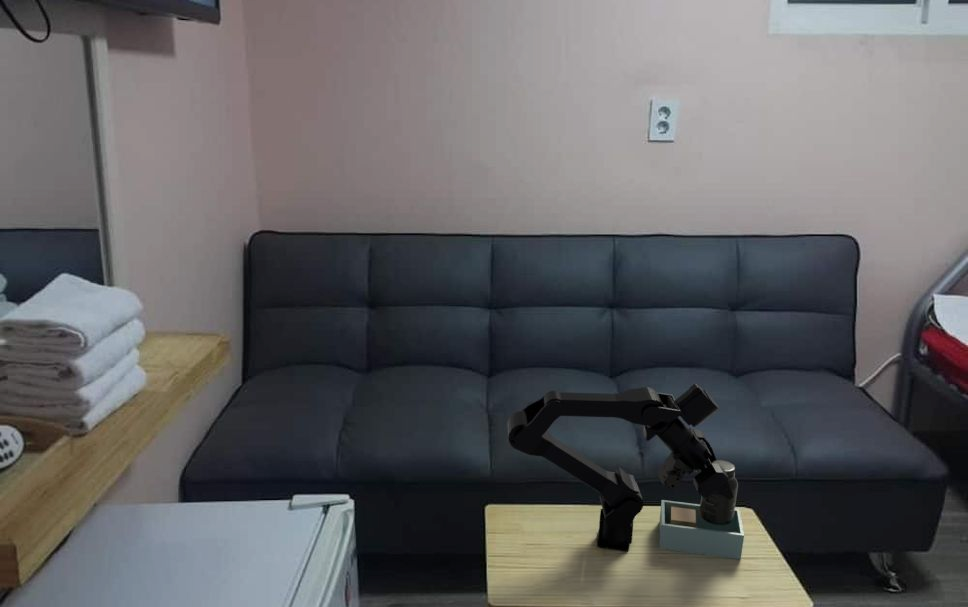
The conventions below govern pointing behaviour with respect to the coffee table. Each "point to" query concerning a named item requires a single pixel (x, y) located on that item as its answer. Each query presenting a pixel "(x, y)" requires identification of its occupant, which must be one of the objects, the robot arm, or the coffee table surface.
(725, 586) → the coffee table surface
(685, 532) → the tote
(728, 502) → the supplement bottle
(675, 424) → the robot arm
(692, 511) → the walnut cube
